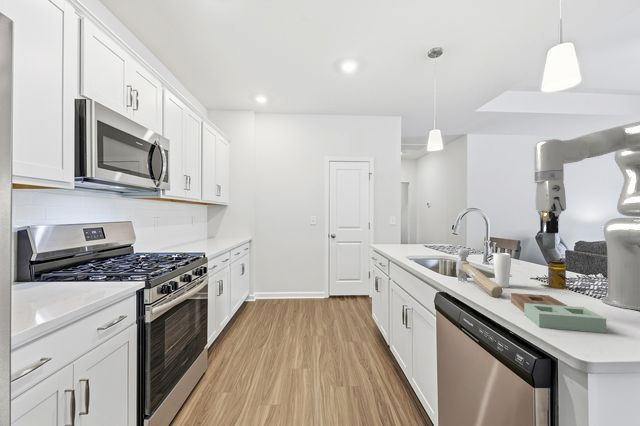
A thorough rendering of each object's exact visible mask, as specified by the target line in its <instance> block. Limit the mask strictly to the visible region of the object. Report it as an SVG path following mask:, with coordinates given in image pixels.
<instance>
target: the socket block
mask: <svg viewBox="0 0 640 426" xmlns="http://www.w3.org/2000/svg"><path fill="white" fill-rule="evenodd" d="M510 303H511V304H512V305H514V306H515V307H516V308H518V310H520V311H521V312H523V313H524V303H531V304H545V305H559V306H568V305H567V304H566V303H563V302H562V301H560V300H558V299H556V298H555V297H552V296H551V295H549V294H548V295H547V294H533V293H532V294H531V293H519V292H518V293H515V292H514V293H513V292H511V293H510Z"/></svg>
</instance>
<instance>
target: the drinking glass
mask: <svg viewBox="0 0 640 426" xmlns="http://www.w3.org/2000/svg"><path fill="white" fill-rule="evenodd" d="M492 260H493V261H492V262H493V271H494V281H495V282H494V283H496V284H497V285H499V286H501V287H502V289H503V288H504V289H505V288H509V287H510V275H511V269H512V268H511V267H512V266H511V265H512V256H511V254H510V253H506V252H493V258H492Z"/></svg>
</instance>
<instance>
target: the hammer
mask: <svg viewBox="0 0 640 426" xmlns="http://www.w3.org/2000/svg"><path fill="white" fill-rule="evenodd" d="M457 253H458V254H457V255H458V257H457V259H456V265H455V270H456V271H455V273H456V278H457V281H458V282H459V281H463V282H464V281H468V277H467V275H468V276H469V277H470V278H471V279H472V280H473V281H474V282H475V283H476V284H477V285H478V286H480V287H481V288H482V289H483V290H484V291H485V292H486V293H488V295H490V296H491V297H493V298H499V297H501V295H502V294H503V291H504V290H503V287H501V286H499V285H497V284H496V283H495V282H494V281H493V280H491V279H490V278H489V277H487V275H485V274H483V273H482V272H480V271H479V270H478V269H477V268H475V267H474V266H472V265H471V264H470V261H468V260H467V258H468V257H469V256H470V251H469V249H467V248H464V247H462V248H458V249H457ZM468 282H469V281H468Z"/></svg>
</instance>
